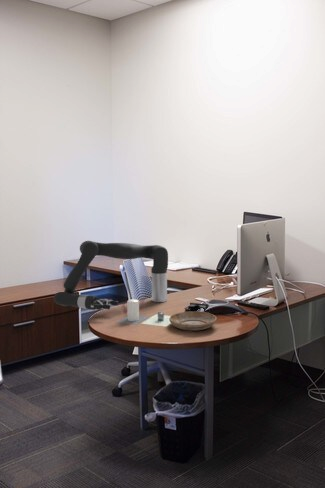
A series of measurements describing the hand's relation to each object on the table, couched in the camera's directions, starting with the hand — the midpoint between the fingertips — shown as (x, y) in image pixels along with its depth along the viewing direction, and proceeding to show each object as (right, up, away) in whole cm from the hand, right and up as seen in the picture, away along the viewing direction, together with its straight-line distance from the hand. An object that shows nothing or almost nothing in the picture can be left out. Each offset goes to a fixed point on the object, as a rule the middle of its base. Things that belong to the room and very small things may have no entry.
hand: (113, 305), depth 273 cm
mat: (+10, -7, -3) cm, 13 cm away
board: (+25, -7, -5) cm, 27 cm away
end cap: (+45, -6, +3) cm, 46 cm away
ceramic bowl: (+41, -9, -16) cm, 45 cm away
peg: (+25, -7, -6) cm, 27 cm away
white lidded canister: (+10, -7, -3) cm, 13 cm away
